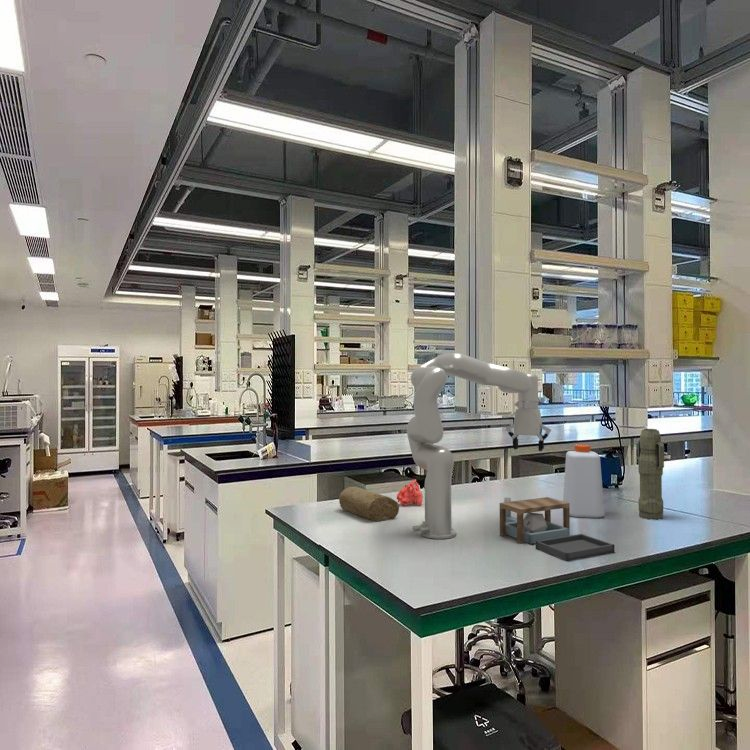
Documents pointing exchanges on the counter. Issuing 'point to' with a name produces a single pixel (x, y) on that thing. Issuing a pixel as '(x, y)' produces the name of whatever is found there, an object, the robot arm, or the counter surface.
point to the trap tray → (574, 547)
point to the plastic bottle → (583, 483)
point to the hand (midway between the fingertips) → (528, 449)
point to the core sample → (368, 504)
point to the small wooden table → (532, 506)
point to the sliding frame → (550, 532)
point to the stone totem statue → (650, 474)
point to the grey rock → (534, 523)
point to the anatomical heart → (410, 494)
